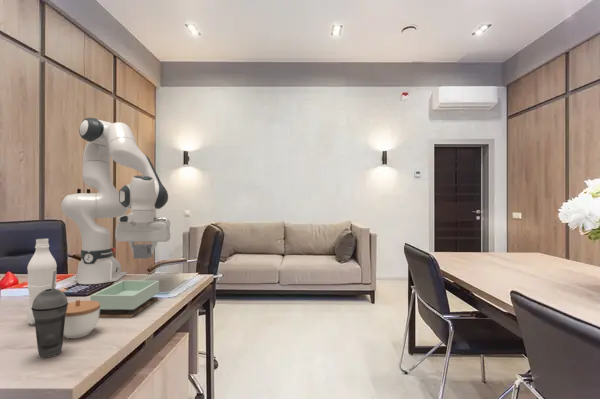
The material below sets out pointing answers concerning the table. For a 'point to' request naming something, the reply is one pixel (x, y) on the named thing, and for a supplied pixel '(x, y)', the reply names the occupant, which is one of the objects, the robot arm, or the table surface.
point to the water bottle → (40, 273)
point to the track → (123, 312)
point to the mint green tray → (126, 294)
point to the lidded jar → (81, 318)
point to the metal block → (142, 251)
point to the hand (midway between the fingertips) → (143, 253)
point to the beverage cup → (50, 320)
